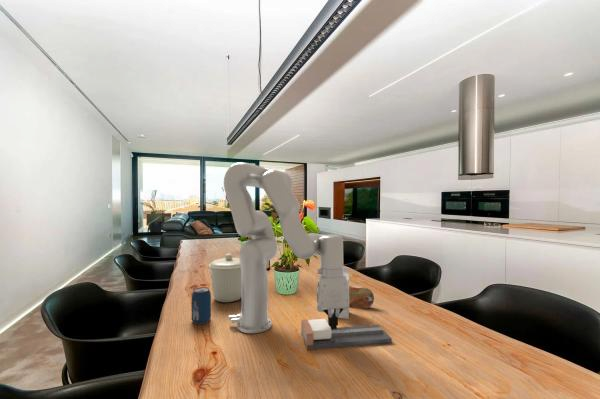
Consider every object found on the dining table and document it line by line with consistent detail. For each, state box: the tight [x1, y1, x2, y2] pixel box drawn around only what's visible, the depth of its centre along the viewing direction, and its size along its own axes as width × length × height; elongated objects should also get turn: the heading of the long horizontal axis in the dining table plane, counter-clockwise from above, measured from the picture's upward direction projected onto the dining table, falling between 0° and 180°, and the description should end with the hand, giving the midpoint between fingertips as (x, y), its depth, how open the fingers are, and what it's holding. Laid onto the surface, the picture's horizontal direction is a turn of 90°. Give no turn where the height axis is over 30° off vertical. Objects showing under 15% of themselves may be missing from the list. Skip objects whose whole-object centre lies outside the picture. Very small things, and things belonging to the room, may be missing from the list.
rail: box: [301, 319, 393, 351], centre depth 93 cm, size 28×10×5 cm, turn 99°
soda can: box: [191, 286, 212, 325], centre depth 106 cm, size 7×7×12 cm
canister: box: [208, 252, 242, 303], centre depth 130 cm, size 18×18×21 cm
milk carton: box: [331, 267, 350, 320], centre depth 112 cm, size 7×7×19 cm
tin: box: [349, 285, 375, 309], centre depth 122 cm, size 15×3×8 cm, turn 68°
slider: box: [307, 318, 331, 340], centre depth 91 cm, size 6×8×4 cm
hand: (333, 327), depth 92 cm, fingers closed
